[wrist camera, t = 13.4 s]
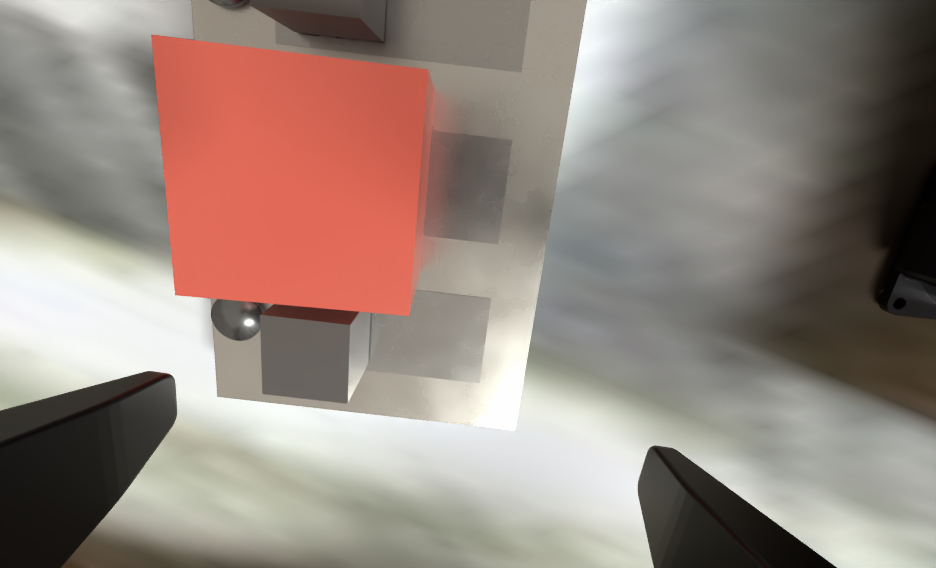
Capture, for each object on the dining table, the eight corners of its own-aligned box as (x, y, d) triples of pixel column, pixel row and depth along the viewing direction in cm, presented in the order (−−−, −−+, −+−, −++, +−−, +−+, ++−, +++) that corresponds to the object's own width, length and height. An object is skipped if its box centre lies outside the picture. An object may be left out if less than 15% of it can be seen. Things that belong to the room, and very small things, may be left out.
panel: (593, -100, 15) (613, -142, 13) (512, 404, 21) (515, 436, 19) (217, -145, 15) (170, -195, 13) (241, 374, 21) (212, 401, 19)
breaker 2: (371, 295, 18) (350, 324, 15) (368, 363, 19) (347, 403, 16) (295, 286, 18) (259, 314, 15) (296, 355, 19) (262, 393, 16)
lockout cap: (434, 89, 15) (428, 69, 11) (420, 271, 17) (409, 316, 13) (238, 65, 15) (151, 34, 11) (246, 255, 17) (175, 294, 13)
